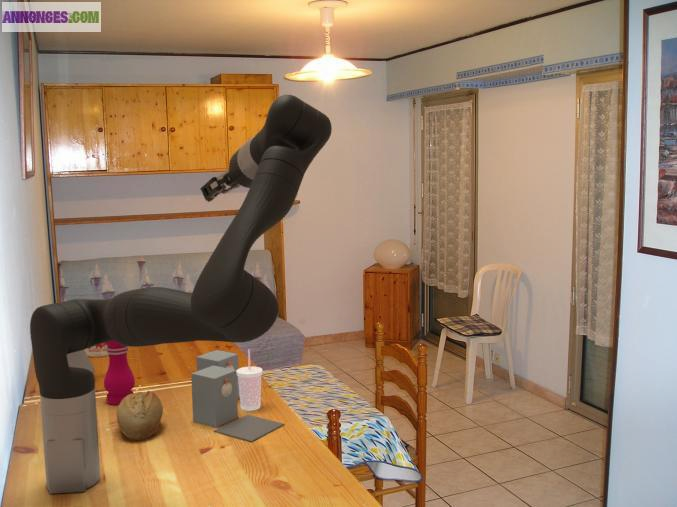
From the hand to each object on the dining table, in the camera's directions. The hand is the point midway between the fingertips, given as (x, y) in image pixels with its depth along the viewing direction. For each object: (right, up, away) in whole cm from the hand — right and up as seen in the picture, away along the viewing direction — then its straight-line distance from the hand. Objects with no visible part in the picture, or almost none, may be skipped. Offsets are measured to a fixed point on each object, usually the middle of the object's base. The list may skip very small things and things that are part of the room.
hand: (224, 189), depth 138 cm
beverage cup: (+2, -49, +25) cm, 55 cm away
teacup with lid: (-48, -43, +73) cm, 97 cm away
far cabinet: (-6, -48, +31) cm, 58 cm away
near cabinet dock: (0, -50, +15) cm, 53 cm away
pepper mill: (-30, -49, +31) cm, 65 cm away
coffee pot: (-43, -47, +47) cm, 79 cm away
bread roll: (-20, -51, +13) cm, 57 cm away
